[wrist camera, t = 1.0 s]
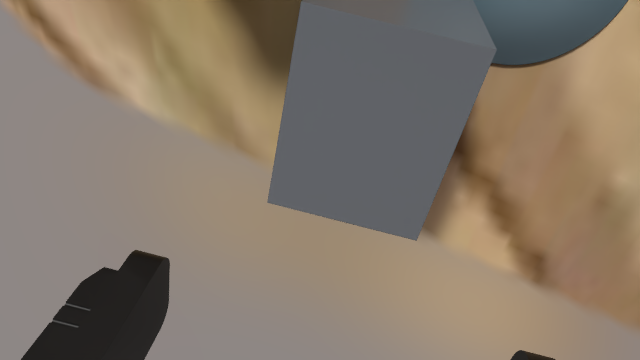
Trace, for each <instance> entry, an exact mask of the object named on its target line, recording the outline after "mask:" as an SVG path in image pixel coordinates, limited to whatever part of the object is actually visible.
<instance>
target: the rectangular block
mask: <svg viewBox="0 0 640 360" xmlns="http://www.w3.org/2000/svg"><path fill="white" fill-rule="evenodd" d="M496 50H497V49H496V47H495V45H494V43H493V41H492V39H491V36H490V34H489V32H488V30H487V28H486V26H485V24H484V22H483V20H482V18H481V16H480V14H479V11H478V9H477V7H476V5H475V3H474V1H473V0H302V1H301V5H300V11H299V17H298V23H297V29H296V35H295V41H294V47H293V53H292V59H291V65H290V71H289V77H288V83H287V89H286V95H285V101H284V106H283V112H282V118H281V124H280V130H279V136H278V142H277V148H276V154H275V160H274V166H273V172H272V178H271V184H270V190H269V196H268V203H271V204H275V205H279V206H283V207H287V208H291V209H295V210H299V211H302V212H307V213H310V214H315V215H318V216H322V217H326V218H330V219H334V220H338V221H342V222H346V223H350V224H353V225H357V226H361V227H365V228H369V229H373V230H377V231H381V232H385V233H389V234H393V235H397V236H401V237H404V238H408V239H412V240H417V238H418V236H419V233H420V231H421V229H422V226H423V224H424V222H425V219H426V217H427V214H428V212H429V210H430V207H431V205H432V203H433V200H434V198H435V195H436V193H437V191H438V188H439V186H440V184H441V181H442V179H443V176H444V174H445V172H446V169H447V167H448V164H449V162H450V160H451V157H452V155H453V153H454V150H455V148H456V145H457V143H458V141H459V138H460V136H461V134H462V131H463V129H464V126H465V124H466V122H467V119H468V117H469V115H470V112H471V110H472V107H473V105H474V103H475V100H476V98H477V96H478V93H479V91H480V88H481V86H482V84H483V81H484V79H485V77H486V74H487V72H488V69H489V67H490V65H491V62H492V60H493V58H494V55H495V53H496Z"/></svg>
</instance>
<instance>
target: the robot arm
mask: <svg viewBox="0 0 640 360" xmlns="http://www.w3.org/2000/svg"><path fill="white" fill-rule="evenodd" d="M169 268H170V263H169V259H168V258H166V257H161V256H157V255H154V254H150V253H146V252H142V251H138V250H135V251H133V252H132V253H131V254H130V255H129V256H128V258H127V259H126V261H125V262H124V263H123V265H122V266H121V268H120V269H119V270H118V271H116V270H113V269H109V268H105V267H104V268H102V269H101V270H99V271H98V272H96V273H94V274H93V275H91V276H90V277H88V278H87V279H85V280H84V281H82V282H81V283H80V285H79V286H78V287H77V288H76V290H75V291H74V292H73V293H72V295H71V296H70V297H69V299H68V300H67V301H66V304H65V306H62V308H61V309H60V310H59V312H58V313H57V314H56V315H55V317H54V318H53V321H52V322H51V323H49V324H48V325H47V327H46V328H45V329H44V331H43V332H42V333H41V335H40V336H39V337H38V338H37V340H36V341H35V342H34V343H33V345H32V346H31V347H30V349H29V350H28V351H27V352H26V354H25V355H24V356H23V358H22V359H21V360H144V359H145V357H146V355H147V353H148V351H149V349H150V347H151V346H152V344H153V342H154V340H155V338H156V336H157V334H158V333H159V331H160V329H161V326H162V324H163V322H164V319H165V316H166V313H167V309H168V302H169ZM511 360H555V359H553V358H549V357H545V356H542V355H538V354H534V353H530V352H526V351H522V350H520V351H518V352H516V353H515V354H514V356H513V357H512V359H511Z"/></svg>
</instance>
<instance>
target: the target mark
mask: <svg viewBox="0 0 640 360" xmlns="http://www.w3.org/2000/svg"><path fill="white" fill-rule="evenodd" d="M473 1H474V3H475V5H476V7H477V9H478V11H479V14H480V16H481V18H482V20H483V22H484V24H485V26H486V28H487V30H488V32H489V34H490V36H491V39H492V41H493V43H494V45H495V47H496V49H497V50H496V53H495V55H494V58H493V60H492V62H491V63H496V64H504V65H521V64H530V63H536V62H540V61H545V60H548V59H551V58H554V57H557V56H559V55H562V54H564V53H566V52H568V51H570V50H572V49H574V48H576V47H577V46H579V45H581V44H582V43H584V42H586V41H587V40H589V39H590V38H591V37H593V36H594V35H595V34H597V33H598V32H599V31H600V30H601V29H602V28H604V27H605V26H606V25H607V24H608V23H609V22H610V21H611V20H612V19H613V18H614V17H615V16H616V15H617V13H618V12H619V11H620V10H621V9H622V8H623V6H624V5H625V3H626V2H627V1H628V0H473Z"/></svg>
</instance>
